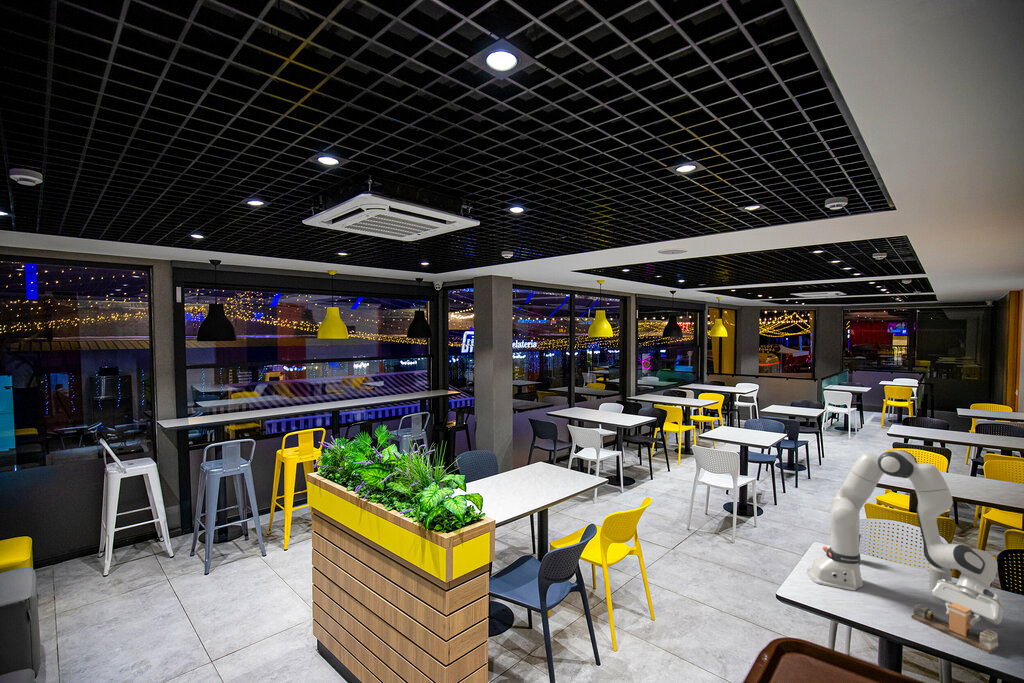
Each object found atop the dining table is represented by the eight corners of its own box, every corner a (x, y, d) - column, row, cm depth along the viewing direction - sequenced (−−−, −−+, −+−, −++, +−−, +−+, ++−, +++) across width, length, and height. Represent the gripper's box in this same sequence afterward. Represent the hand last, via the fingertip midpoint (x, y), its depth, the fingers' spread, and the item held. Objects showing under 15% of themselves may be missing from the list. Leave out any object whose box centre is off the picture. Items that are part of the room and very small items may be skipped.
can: (942, 587, 218) (942, 561, 218) (956, 596, 211) (956, 569, 210) (925, 586, 219) (925, 560, 218) (938, 595, 211) (938, 568, 211)
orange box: (948, 629, 185) (949, 605, 185) (954, 626, 187) (954, 602, 187) (965, 636, 181) (965, 612, 180) (971, 633, 182) (971, 609, 182)
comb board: (911, 617, 195) (911, 604, 195) (921, 612, 198) (921, 599, 198) (988, 653, 173) (989, 638, 173) (999, 647, 176) (999, 632, 176)
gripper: (936, 572, 196) (923, 602, 192) (1003, 598, 177) (991, 630, 173) (942, 581, 198) (929, 610, 194) (1009, 606, 179) (996, 639, 175)
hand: (959, 620), depth 183 cm, fingers closed on orange box, 5 cm apart
